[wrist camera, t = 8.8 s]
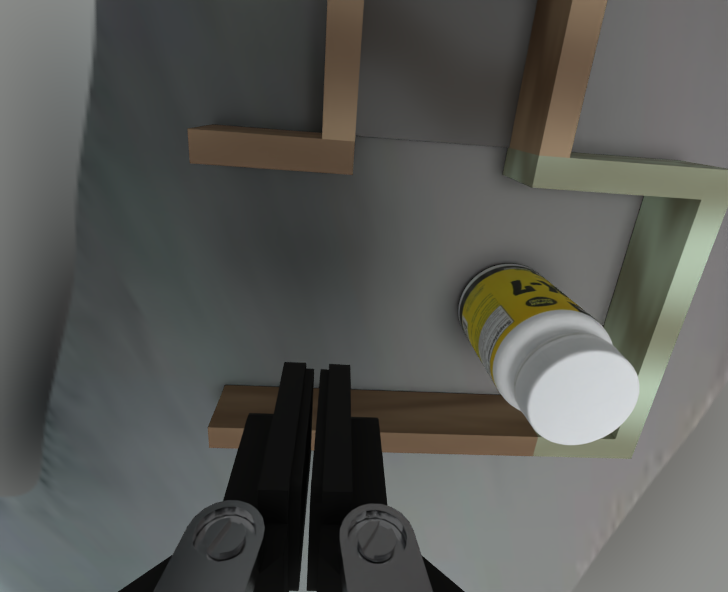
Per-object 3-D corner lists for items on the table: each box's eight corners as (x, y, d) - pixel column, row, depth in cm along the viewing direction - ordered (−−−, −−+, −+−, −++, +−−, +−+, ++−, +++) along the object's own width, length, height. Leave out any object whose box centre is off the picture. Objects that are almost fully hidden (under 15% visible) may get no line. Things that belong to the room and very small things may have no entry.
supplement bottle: (563, 278, 23) (680, 364, 15) (520, 355, 25) (607, 468, 17) (480, 248, 22) (559, 323, 15) (441, 330, 24) (494, 438, 16)
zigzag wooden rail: (202, -84, 17) (170, -129, 14) (741, -25, 18) (826, -52, 15) (225, 403, 25) (209, 447, 22) (596, 415, 27) (630, 458, 23)
